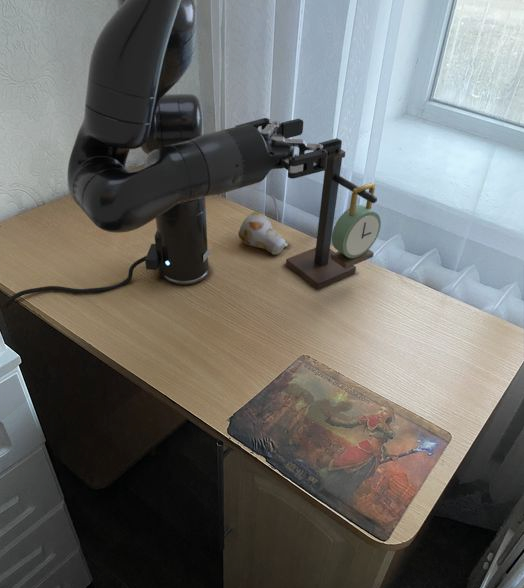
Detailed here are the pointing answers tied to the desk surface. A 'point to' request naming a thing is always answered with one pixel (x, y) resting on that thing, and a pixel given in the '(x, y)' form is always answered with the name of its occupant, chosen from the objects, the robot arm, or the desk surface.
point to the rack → (326, 232)
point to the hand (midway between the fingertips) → (319, 135)
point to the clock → (356, 231)
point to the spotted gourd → (261, 233)
